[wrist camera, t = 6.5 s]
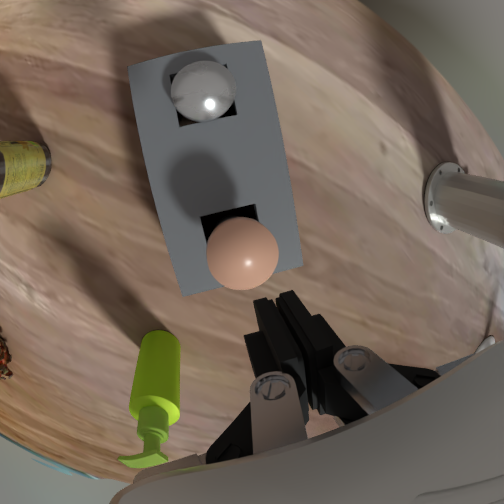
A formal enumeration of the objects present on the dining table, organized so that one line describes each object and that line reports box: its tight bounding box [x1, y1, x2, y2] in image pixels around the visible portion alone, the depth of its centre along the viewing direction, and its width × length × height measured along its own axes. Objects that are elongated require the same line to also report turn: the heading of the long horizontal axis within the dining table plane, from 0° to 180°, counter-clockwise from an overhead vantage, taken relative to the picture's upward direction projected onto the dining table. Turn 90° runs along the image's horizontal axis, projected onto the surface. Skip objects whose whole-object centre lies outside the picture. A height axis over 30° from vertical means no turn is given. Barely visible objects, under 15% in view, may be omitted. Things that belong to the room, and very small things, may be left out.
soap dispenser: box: [117, 330, 180, 468], centre depth 30 cm, size 6×7×20 cm
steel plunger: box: [171, 61, 236, 122], centre depth 23 cm, size 5×5×8 cm
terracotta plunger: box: [206, 215, 279, 290], centre depth 24 cm, size 5×5×8 cm
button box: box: [127, 41, 303, 297], centre depth 28 cm, size 12×22×10 cm, turn 11°
